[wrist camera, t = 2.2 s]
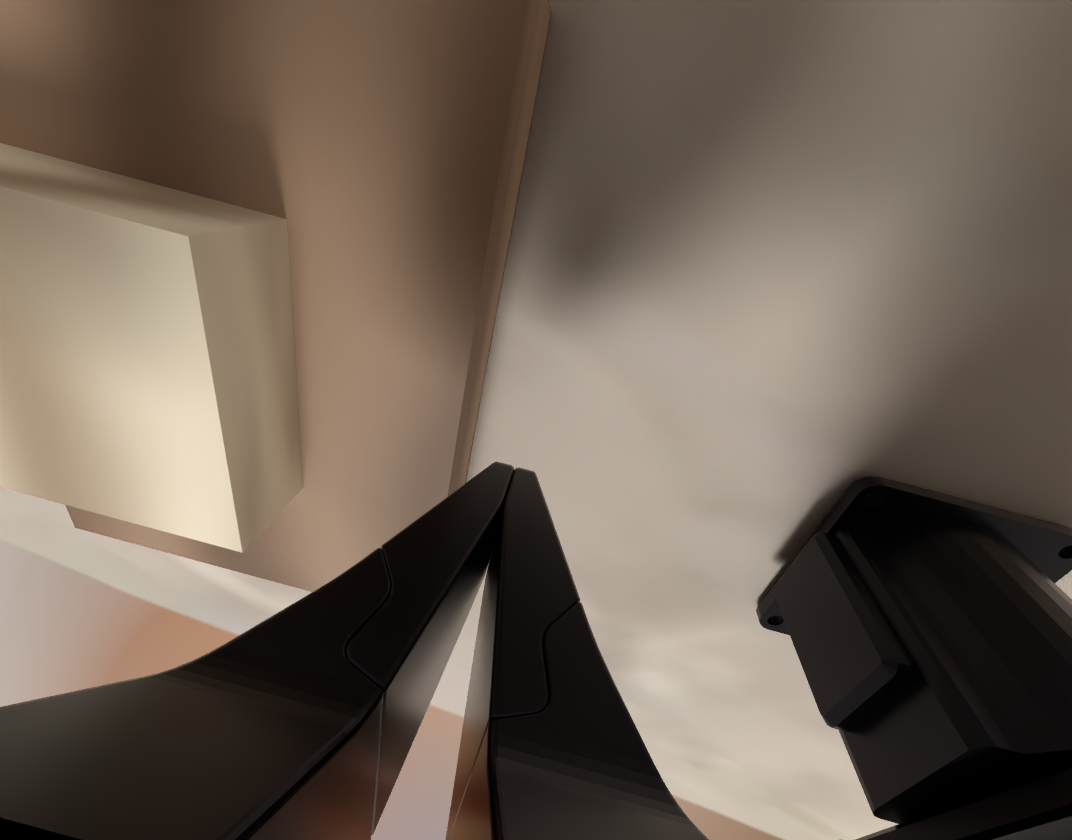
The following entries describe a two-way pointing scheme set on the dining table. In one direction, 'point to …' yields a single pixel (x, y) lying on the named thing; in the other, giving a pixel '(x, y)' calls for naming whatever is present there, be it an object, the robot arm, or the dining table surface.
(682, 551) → the dining table surface
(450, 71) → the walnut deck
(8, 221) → the birch block
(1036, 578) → the robot arm
